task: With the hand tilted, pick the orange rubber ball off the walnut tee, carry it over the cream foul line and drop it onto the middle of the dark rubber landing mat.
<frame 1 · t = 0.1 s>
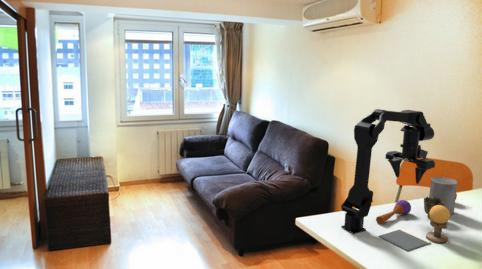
hand: (407, 180, 153), 15 cm above the table, tool pointing down, fingers open, 9 cm apart
rubber ball: (439, 214, 133), point 9 cm above the table, touching ball tee
kendama: (393, 218, 153), on the table
pillar candle: (440, 212, 160), on the table
clementine: (447, 202, 170), on the table
ball tee: (436, 238, 135), on the table
cup: (432, 219, 152), on the table
landing mat: (404, 240, 134), on the table
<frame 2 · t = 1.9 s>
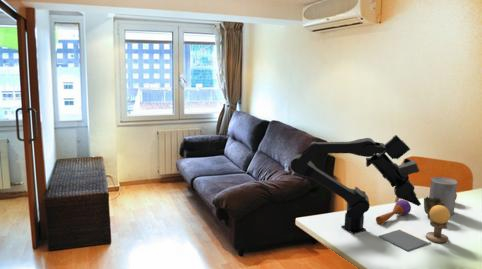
hand: (417, 200, 134), 13 cm above the table, tool tilted 45°, fingers open, 9 cm apart
nothing on the table moved.
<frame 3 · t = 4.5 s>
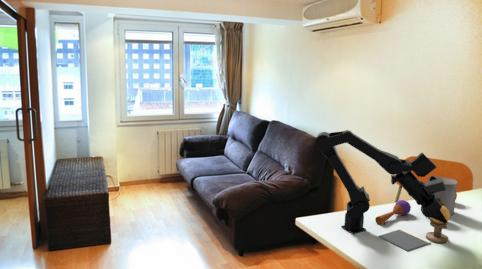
hand: (443, 218, 133), 8 cm above the table, tool tilted 45°, fingers closed on rubber ball, 6 cm apart
rubber ball: (439, 214, 133), point 9 cm above the table, touching ball tee, gripper
everything else where it was.
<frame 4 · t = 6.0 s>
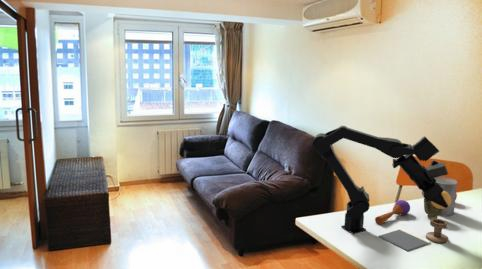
hand: (444, 203, 132), 13 cm above the table, tool tilted 45°, fingers closed on rubber ball, 6 cm apart
rubber ball: (440, 199, 132), point 15 cm above the table, touching gripper
everything else where it was.
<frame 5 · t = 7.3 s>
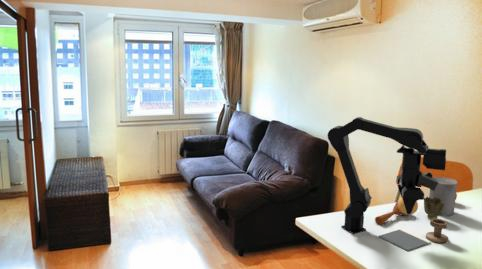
hand: (407, 210, 132), 11 cm above the table, tool pointing down, fingers closed on rubber ball, 6 cm apart
rubber ball: (407, 205, 131), point 13 cm above the table, tilted 44°, touching gripper
everything else where it was.
when the fingers open (4 cm above the table, at t = 9.2 s): rubber ball drops 2 cm, resting on landing mat.
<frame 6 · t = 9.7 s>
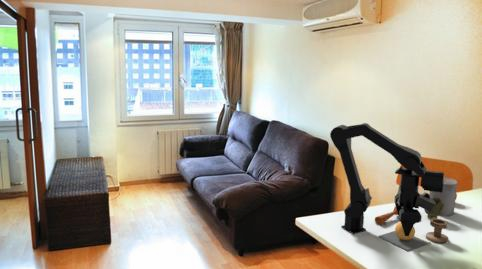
hand: (404, 230, 133), 4 cm above the table, tool pointing down, fingers open, 9 cm apart
rubber ball: (404, 230, 133), point 4 cm above the table, tilted 45°, touching landing mat
everything else where it was.
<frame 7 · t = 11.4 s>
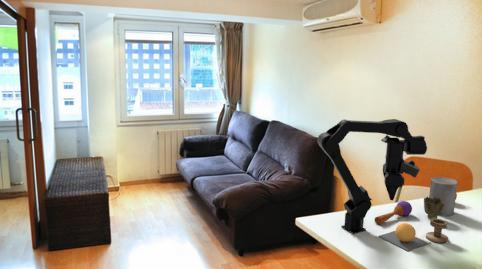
hand: (390, 195, 140), 13 cm above the table, tool pointing down, fingers open, 9 cm apart
rubber ball: (405, 232, 132), point 4 cm above the table, tilted 52°, touching landing mat
everything else where it was.
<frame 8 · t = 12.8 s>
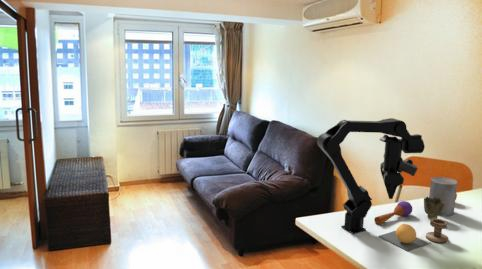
hand: (389, 194, 141), 13 cm above the table, tool pointing down, fingers open, 9 cm apart
rubber ball: (405, 233, 130), point 4 cm above the table, tilted 63°, touching landing mat
at the end: rubber ball 2.8 cm from the landing mat (horizontally); rubber ball point 3.6 cm above the table; the gripper is holding nothing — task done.
